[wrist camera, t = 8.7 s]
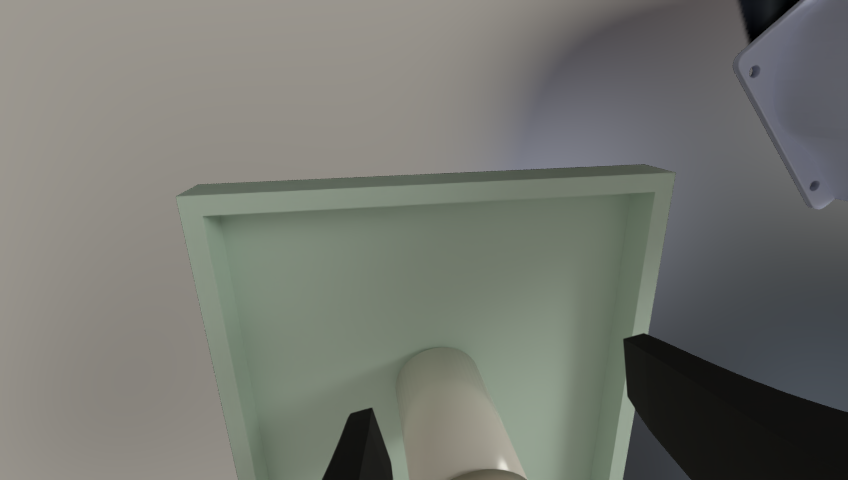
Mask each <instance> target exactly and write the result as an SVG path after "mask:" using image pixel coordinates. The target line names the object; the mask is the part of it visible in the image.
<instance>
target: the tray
mask: <svg viewBox="0 0 848 480" xmlns="http://www.w3.org/2000/svg"><path fill="white" fill-rule="evenodd" d="M675 175H676V173H675V172H672V171H668V170H664V169H660V168H656V167H652V166H649V165H645V164H641V165H619V166H597V167H575V168H553V169H533V170H532V169H531V170H510V171H487V172H465V173H444V174H443V173H442V174H423V175H422V174H420V175H401V176H400V175H398V176H376V177H354V178H332V179H311V180H288V181H266V182H246V183H222V184H200V185H196V186H195V187H193V188H191V189H189V190H187V191H185V192H183V193H182V194H180V195H178V196H176V200H177V205H178V209H179V214H180V219H181V223H182V227H183V232H184V237H185V241H186V246H187V250H188V255H189V259H190V264H191V268H192V273H193V277H194V282H195V286H196V291H197V296H198V300H199V305H200V309H201V314H202V318H203V323H204V327H205V332H206V336H207V341H208V345H209V350H210V354H211V359H212V363H213V368H214V373H215V377H216V381H217V386H218V391H219V395H220V400H221V404H222V408H223V413H224V417H225V422H226V426H227V431H228V436H229V440H230V445H231V449H232V454H233V458H234V463H235V468H236V472H237V477H238V480H322V478H323V476H324V474H325V472H326V469H327V467H328V465H329V463H330V461H331V458H332V456H333V454H334V451H335V449H336V446H337V444H338V442H339V439H340V437H341V434H342V431H343V429H344V426H345V424H346V421H347V418H348V416H349V415H350V413H353V412H357V411H361V410H364V409H368V408H373V411H374V414H375V417H376V420H377V423H378V426H379V428H380V431H381V434H382V437H383V440H384V443H385V446H386V449H387V452H388V455H389V457H390V460H391V465H392V474H393V480H409V476H408V469H407V463H406V456H405V450H404V443H403V436H402V430H401V423H400V416H399V410H398V403H397V397H396V389H395V386H396V380H397V377H398V374H399V372H400V370H401V369H402V367H403V366H404V365H405V364H406V363H407V362H408V361H409V360H410V359H411V358H412V357H414V356H415V355H417V354H419V353H421V352H423V351H426V350H429V349H432V348H438V347H448V348H454V349H458V350H460V351H463V352H465V353H466V354H468V355H469V356H470V357H471V358H472V359H473V360H474V362H475V363H476V365H477V367H478V369H479V372H480V374H481V376H482V378H483V381H484V383H485V385H486V387H487V389H488V392H489V394H490V396H491V398H492V401H493V403H494V405H495V407H496V410H497V412H498V414H499V416H500V419H501V421H502V423H503V425H504V428H505V430H506V432H507V434H508V437H509V439H510V441H511V443H512V446H513V448H514V450H515V452H516V455H517V457H518V459H519V461H520V464H521V466H522V468H523V470H524V472H525V475H526V477H527V479H528V480H623V474H624V468H625V463H626V456H627V451H628V445H629V440H630V434H631V428H632V422H633V417H634V411H635V408H634V406H633V405H632V403H631V401H630V400H629V398H628V397H627V385H626V372H625V358H624V345H623V339H624V338H628V337H632V336H635V335H639V334H642V333H645V334H647V335H648V330H649V325H650V319H651V313H652V307H653V301H654V296H655V290H656V283H657V278H658V272H659V267H660V261H661V255H662V250H663V244H664V238H665V232H666V226H667V220H668V215H669V209H670V204H671V198H672V192H673V186H674V181H675Z"/></svg>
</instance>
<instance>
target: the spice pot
mask: <svg viewBox="0 0 848 480" xmlns="http://www.w3.org/2000/svg"><path fill="white" fill-rule="evenodd" d="M395 389H396V397H397V403H398V410H399V416H400V423H401V430H402V436H403V443H404V450H405V456H406V463H407V469H408V476H409V480H528V479H527V477H526V475H525V472H524V470H523V468H522V466H521V464H520V461H519V459H518V457H517V455H516V452H515V450H514V448H513V446H512V443H511V441H510V439H509V437H508V434H507V432H506V430H505V428H504V425H503V423H502V421H501V419H500V416H499V414H498V412H497V410H496V407H495V405H494V403H493V401H492V398H491V396H490V394H489V392H488V389H487V387H486V385H485V383H484V381H483V378H482V376H481V374H480V372H479V369H478V367H477V365H476V363H475V362H474V360H473V359H472V358H471V357H470V356H469V355H468V354H466V353H465V352H463V351H460V350H458V349H454V348H448V347H438V348H432V349H429V350H426V351H423V352H421V353H419V354H417V355H415V356H414V357H412V358H411V359H410V360H409V361H408V362H407V363H406V364H405V365H404V366H403V367H402V369H401V370H400V372H399V374H398V377H397V380H396V386H395Z"/></svg>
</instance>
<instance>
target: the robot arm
mask: <svg viewBox="0 0 848 480" xmlns="http://www.w3.org/2000/svg"><path fill="white" fill-rule="evenodd" d="M751 68H752V69H753V72H752V75H751V76H750V75H749V71H750V69H751ZM733 70H734V72H735V74H736V76H737V78H738V79H739V81H740V83H741V85H742V87H743V89H744V91H745V92H746V94H747V96H748V98H749V100H750V102H751V104H752V105H753V107H754V109H755V111H756V112H757V115H758V116H759V118H760V120H761V122H762V124H763V126H764V127H765V129H766V131H767V133H768V135H769V137H770V139H771V140H772V142H773V144H774V146H775V148H776V149H777V151H778V153H779V155H780V157H781V159H782V161H783V162H784V164H785V166H786V168H787V170H788V171H789V173H790V175H791V177H792V179H793V181H794V183H795V184H796V186H797V188H798V190H799V192H800V194H801V196H802V197H803V199H804V201H805V203H806V205H807V206H808V207H810V208H813V209H817V210H818V209H822V208H824V207H825V206H827V205H828V204H829V203H830V202H831V201H833V200H834V199H839V200H844V201H848V0H800V1H799V2H798V3H796V4H795V5H794V6H793V7H792V8H791V9H789V10H788V11H787V12H786V13H785V14H784V15H783V16H781V17H780V18H779V19H778V20H777V21H776V22H775V23H773V24H772V25H771V26H770V27H769V28H768V29H766V30H765V31H764V32H763V33H762V34H761V35H760V36H758V37H757V38H756V39H755V40H754V41H753V42H752V43H750V44H749V45H748V46H747V47H746V48H745V49H744V50H743V51H741V52H740V53H739V54H738V55H737V56H736V57H735V59H734V62H733ZM811 183H812V184H811ZM810 184H811V186H810ZM623 345H624V358H625V372H626V385H627V397H628V398H629V400H630V401H631V403H632V405H633V406H634V408H635V409H636V411H637V412H638V414H639V415H640V417H641V418H642V420H643V421H644V423H645V424H646V425H647V427H648V428H649V430H650V431H651V432H652V434H653V435H654V436H655V437H656V438H657V440H658V441H659V442H660V443H661V445H662V446H663V447H664V448H665V449H666V451H667V452H668V453H669V454H670V455H671V456H672V458H673V459H674V460H675V461H676V462H677V464H678V465H679V466H680V467H681V468H682V469H683V471H684V472H685V473H686V474H687V475H688V476H689V478H690V479H691V480H848V412H844V411H841V410H837V409H834V408H831V407H828V406H825V405H822V404H819V403H815V402H812V401H809V400H806V399H803V398H800V397H797V396H794V395H791V394H788V393H785V392H783V391H780V390H777V389H774V388H772V387H769V386H767V385H764V384H761V383H759V382H756V381H753V380H751V379H748V378H746V377H743V376H741V375H738V374H736V373H733V372H731V371H729V370H727V369H724V368H722V367H719V366H717V365H715V364H712V363H710V362H708V361H706V360H703V359H701V358H699V357H697V356H694V355H692V354H690V353H688V352H686V351H683V350H681V349H679V348H677V347H675V346H672V345H670V344H668V343H666V342H664V341H661V340H659V339H657V338H654V337H652V336H650V335H647V334H645V333H642V334H639V335H635V336H632V337H628V338H624V339H623ZM322 480H393V474H392V465H391V460H390V457H389V455H388V452H387V449H386V446H385V443H384V440H383V437H382V434H381V431H380V428H379V426H378V423H377V420H376V417H375V414H374V411H373V408H368V409H364V410H361V411H357V412H353V413H350V415H349V416H348V418H347V421H346V424H345V426H344V429H343V431H342V434H341V437H340V439H339V442H338V444H337V446H336V449H335V451H334V454H333V456H332V458H331V461H330V463H329V465H328V467H327V469H326V472H325V474H324V476H323V478H322Z"/></svg>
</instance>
